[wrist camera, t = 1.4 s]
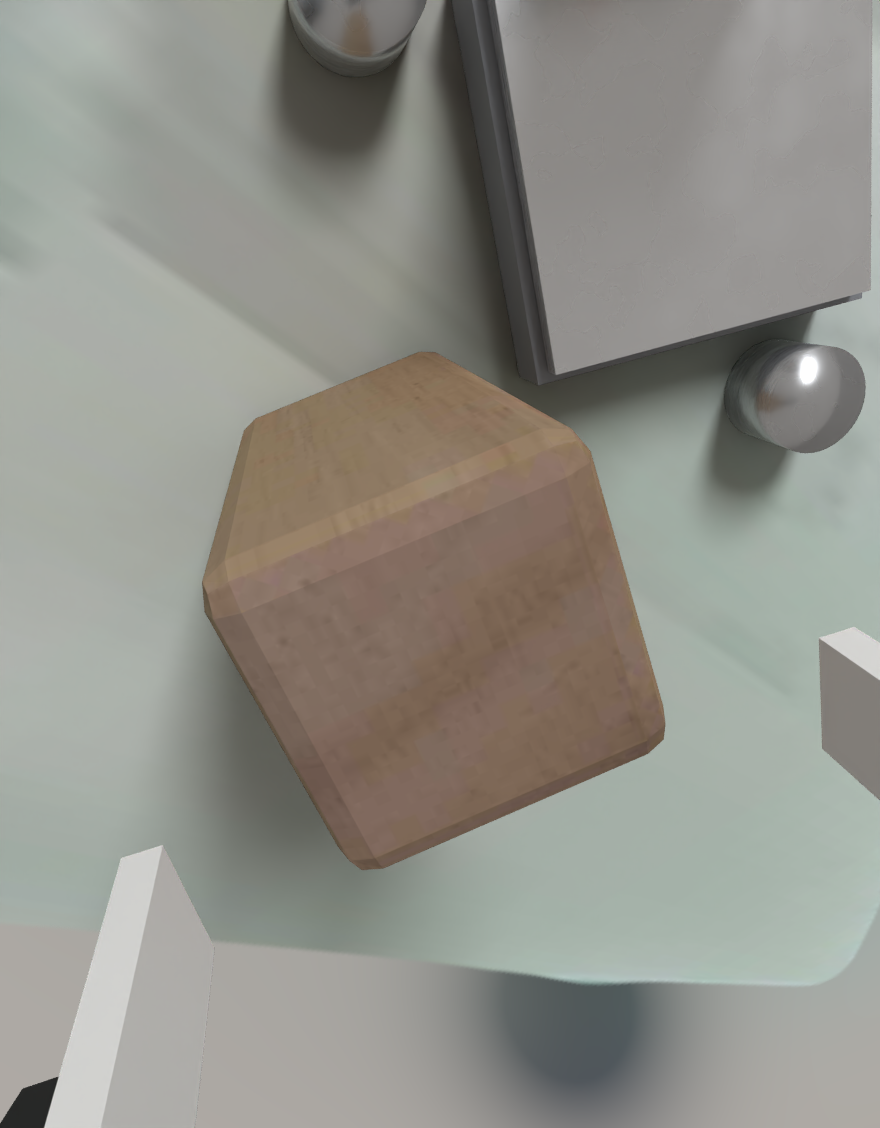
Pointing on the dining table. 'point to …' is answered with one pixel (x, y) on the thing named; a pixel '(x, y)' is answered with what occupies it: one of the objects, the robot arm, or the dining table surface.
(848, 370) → the cylinder
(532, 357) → the base
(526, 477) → the wooden block
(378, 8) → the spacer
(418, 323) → the dining table surface
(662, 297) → the pan
